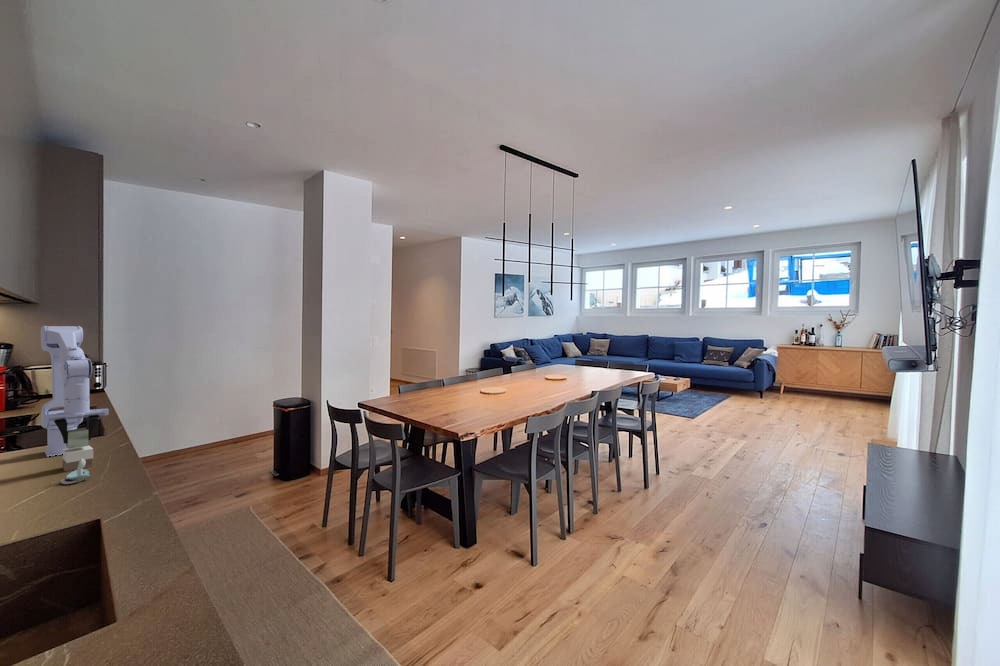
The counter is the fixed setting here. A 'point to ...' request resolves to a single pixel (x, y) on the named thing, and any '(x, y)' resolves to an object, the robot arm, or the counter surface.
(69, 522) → the counter surface
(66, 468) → the base slab
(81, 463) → the pacifier
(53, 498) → the counter surface
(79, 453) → the top slab
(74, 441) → the green block
